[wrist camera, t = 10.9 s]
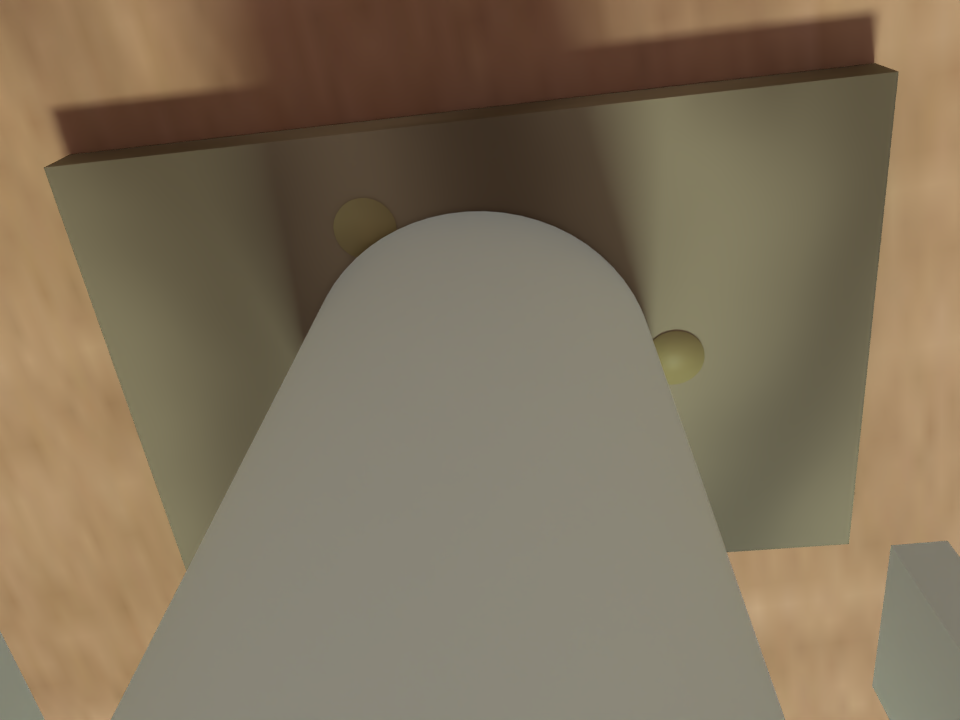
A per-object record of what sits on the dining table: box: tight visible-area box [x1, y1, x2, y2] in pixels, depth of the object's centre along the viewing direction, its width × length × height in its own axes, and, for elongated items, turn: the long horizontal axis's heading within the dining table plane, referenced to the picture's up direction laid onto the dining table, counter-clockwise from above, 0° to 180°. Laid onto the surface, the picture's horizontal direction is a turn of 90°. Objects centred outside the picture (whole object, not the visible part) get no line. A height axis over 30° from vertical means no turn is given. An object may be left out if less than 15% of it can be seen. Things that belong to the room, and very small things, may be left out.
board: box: [44, 63, 898, 571], centre depth 21 cm, size 18×12×1 cm, turn 96°
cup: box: [111, 211, 785, 720], centre depth 13 cm, size 8×8×16 cm
